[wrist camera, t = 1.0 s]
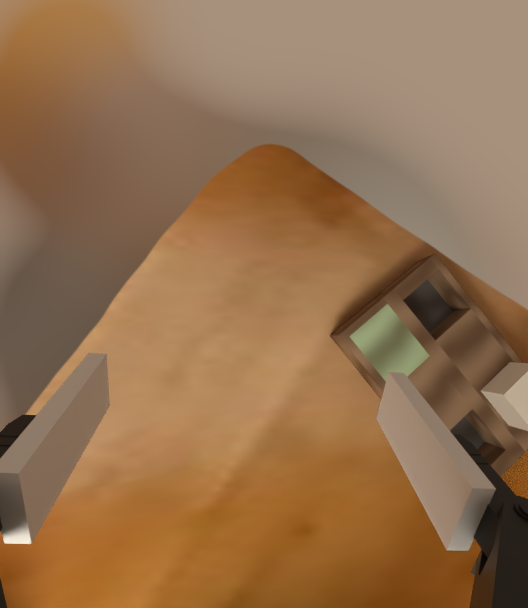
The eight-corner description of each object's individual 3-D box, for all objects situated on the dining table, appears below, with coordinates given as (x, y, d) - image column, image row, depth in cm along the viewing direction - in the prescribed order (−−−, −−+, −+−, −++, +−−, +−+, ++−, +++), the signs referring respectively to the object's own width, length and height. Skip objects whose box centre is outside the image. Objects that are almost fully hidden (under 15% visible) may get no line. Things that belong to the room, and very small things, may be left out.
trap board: (538, 406, 53) (563, 411, 49) (454, 491, 50) (474, 503, 46) (419, 260, 53) (434, 253, 49) (330, 335, 50) (338, 335, 46)
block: (537, 396, 48) (565, 401, 44) (508, 425, 48) (534, 433, 44) (510, 362, 49) (535, 363, 45) (480, 390, 48) (503, 394, 44)
